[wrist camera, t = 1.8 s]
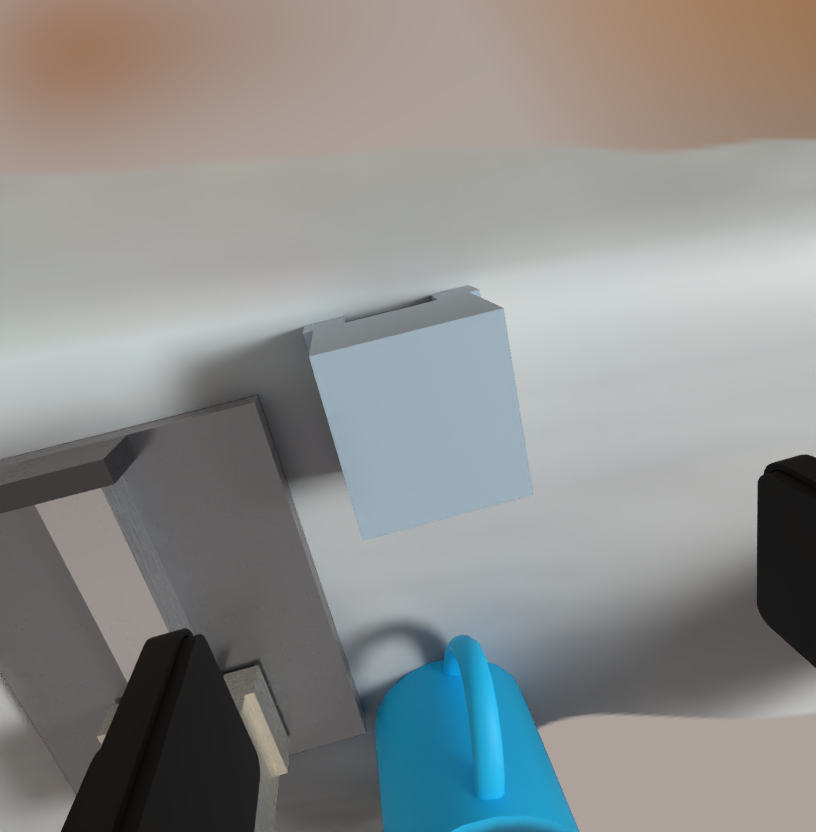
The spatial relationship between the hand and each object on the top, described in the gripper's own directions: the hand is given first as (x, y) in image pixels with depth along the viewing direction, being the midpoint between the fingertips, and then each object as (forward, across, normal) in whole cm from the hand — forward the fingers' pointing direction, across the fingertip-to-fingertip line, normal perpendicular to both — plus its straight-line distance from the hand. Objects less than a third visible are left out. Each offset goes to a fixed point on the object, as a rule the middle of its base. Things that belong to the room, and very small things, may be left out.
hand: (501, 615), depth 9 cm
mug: (+15, +1, +17) cm, 23 cm away
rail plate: (+15, +12, +8) cm, 21 cm away
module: (+15, 0, 0) cm, 15 cm away
